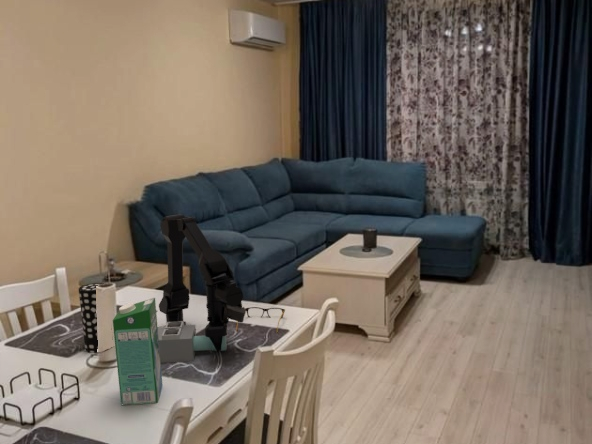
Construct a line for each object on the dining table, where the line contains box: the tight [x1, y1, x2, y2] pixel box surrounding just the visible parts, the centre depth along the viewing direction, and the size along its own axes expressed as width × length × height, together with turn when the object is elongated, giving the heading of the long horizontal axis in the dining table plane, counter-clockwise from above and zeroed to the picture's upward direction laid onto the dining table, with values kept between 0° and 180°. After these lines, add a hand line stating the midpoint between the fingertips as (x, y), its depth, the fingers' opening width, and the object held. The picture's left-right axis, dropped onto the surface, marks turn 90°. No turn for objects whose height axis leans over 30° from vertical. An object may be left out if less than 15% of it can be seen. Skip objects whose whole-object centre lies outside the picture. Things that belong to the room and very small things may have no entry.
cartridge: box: [193, 335, 227, 352], centre depth 172 cm, size 20×5×5 cm, turn 94°
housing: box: [158, 320, 197, 364], centre depth 171 cm, size 11×12×8 cm
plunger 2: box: [166, 328, 177, 335], centre depth 167 cm, size 3×3×2 cm
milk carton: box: [112, 297, 163, 406], centre depth 145 cm, size 9×9×25 cm
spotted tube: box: [78, 282, 105, 354], centre depth 177 cm, size 8×8×20 cm
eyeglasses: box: [235, 306, 286, 333], centre depth 194 cm, size 14×14×4 cm
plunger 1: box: [169, 321, 180, 327], centre depth 173 cm, size 3×3×2 cm
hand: (219, 347), depth 172 cm, fingers closed on cartridge, 5 cm apart
